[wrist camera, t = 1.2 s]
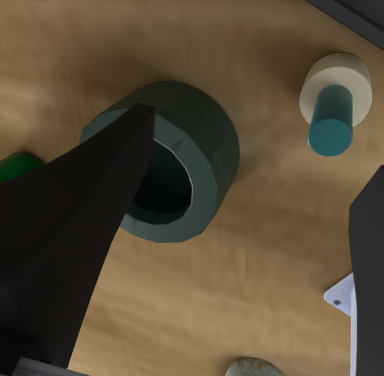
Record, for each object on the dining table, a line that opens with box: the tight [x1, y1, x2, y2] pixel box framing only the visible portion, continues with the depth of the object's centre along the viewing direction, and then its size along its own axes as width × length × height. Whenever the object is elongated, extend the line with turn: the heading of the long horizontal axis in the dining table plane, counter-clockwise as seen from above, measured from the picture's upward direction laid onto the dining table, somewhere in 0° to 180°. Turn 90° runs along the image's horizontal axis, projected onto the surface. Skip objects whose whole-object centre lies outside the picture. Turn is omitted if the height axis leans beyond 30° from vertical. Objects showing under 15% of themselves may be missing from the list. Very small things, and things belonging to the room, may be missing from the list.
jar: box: [79, 81, 240, 243], centre depth 23 cm, size 9×9×5 cm
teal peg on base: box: [299, 53, 372, 156], centre depth 16 cm, size 3×3×7 cm
